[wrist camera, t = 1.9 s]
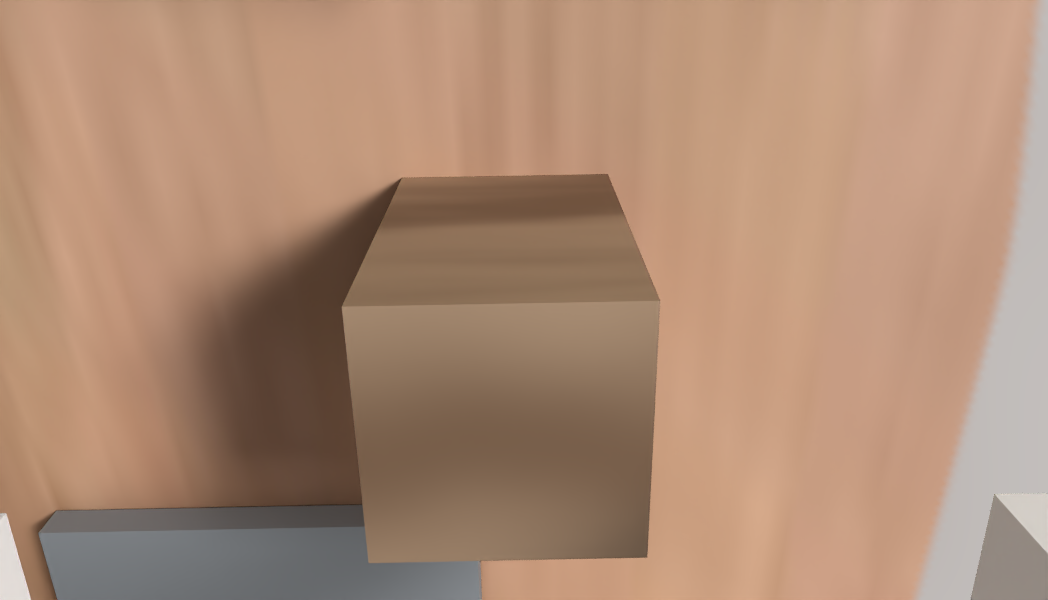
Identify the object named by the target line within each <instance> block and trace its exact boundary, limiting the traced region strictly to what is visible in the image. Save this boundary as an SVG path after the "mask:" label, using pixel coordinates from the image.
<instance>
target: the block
mask: <svg viewBox="0 0 1048 600" xmlns="http://www.w3.org/2000/svg"><path fill="white" fill-rule="evenodd" d="M342 315H343V324H344V334H345V343H346V353H347V362H348V372H349V381H350V391H351V400H352V410H353V419H354V429H355V438H356V448H357V457H358V467H359V476H360V486H361V495H362V505H363V514H364V524H365V533H366V543H367V552H368V562H369V563H401V562H449V561H498V560H547V559H596V558H645V557H647V551H648V531H649V512H650V492H651V472H652V453H653V433H654V413H655V393H656V374H657V354H658V334H659V315H660V299H659V297H658V294H657V292H656V289H655V287H654V285H653V282H652V280H651V277H650V275H649V273H648V270H647V268H646V265H645V263H644V261H643V258H642V256H641V253H640V251H639V249H638V246H637V244H636V241H635V239H634V236H633V234H632V232H631V229H630V227H629V224H628V222H627V220H626V217H625V215H624V212H623V210H622V208H621V205H620V203H619V200H618V198H617V196H616V193H615V191H614V188H613V186H612V183H611V181H610V179H609V176H608V174H591V175H534V176H476V177H419V178H402V179H401V181H400V183H399V185H398V188H397V190H396V192H395V194H394V196H393V198H392V200H391V203H390V205H389V207H388V209H387V211H386V213H385V215H384V217H383V220H382V222H381V224H380V226H379V228H378V230H377V232H376V234H375V237H374V239H373V241H372V243H371V245H370V247H369V249H368V252H367V254H366V256H365V258H364V260H363V262H362V264H361V266H360V269H359V271H358V273H357V275H356V277H355V279H354V281H353V284H352V286H351V288H350V290H349V292H348V294H347V296H346V298H345V301H344V303H343V305H342Z"/></svg>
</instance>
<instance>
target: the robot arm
mask: <svg viewBox="0 0 1048 600" xmlns="http://www.w3.org/2000/svg"><path fill="white" fill-rule="evenodd" d="M0 600H31V598H30V594H29V591H28V587H27V584H26V580H25V577H24V573H23V570H22V567H21V563H20V560H19V556H18V553H17V549H16V546H15V542H14V539H13V535H12V532H11V528H10V525H9V521H8V518H7V515H6V513H0ZM971 600H1048V493H1030V494H1029V493H1028V494H994V498H993V503H992V507H991V511H990V516H989V521H988V525H987V529H986V534H985V538H984V543H983V547H982V551H981V556H980V560H979V565H978V569H977V574H976V578H975V583H974V587H973V591H972V596H971Z"/></svg>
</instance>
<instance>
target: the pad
mask: <svg viewBox="0 0 1048 600" xmlns="http://www.w3.org/2000/svg"><path fill="white" fill-rule="evenodd" d="M38 534H39V537H40V541H41V544H42V548H43V551H44V555H45V558H46V562H47V565H48V569H49V572H50V576H51V579H52V583H53V586H54V590H55V593H56V597H57V600H482V592H481V568H480V561H449V562H401V563H369V562H368V552H367V543H366V533H365V524H364V514H363V505H323V506H272V507H222V508H171V509H120V510H69V511H56V512H55V513H54V514H53V515H52V517H51V518H50V519H49V520H48V522H47V523H46V524H45V525H44V527H43V528H42V529H41V530H40V532H39V533H38Z"/></svg>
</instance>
